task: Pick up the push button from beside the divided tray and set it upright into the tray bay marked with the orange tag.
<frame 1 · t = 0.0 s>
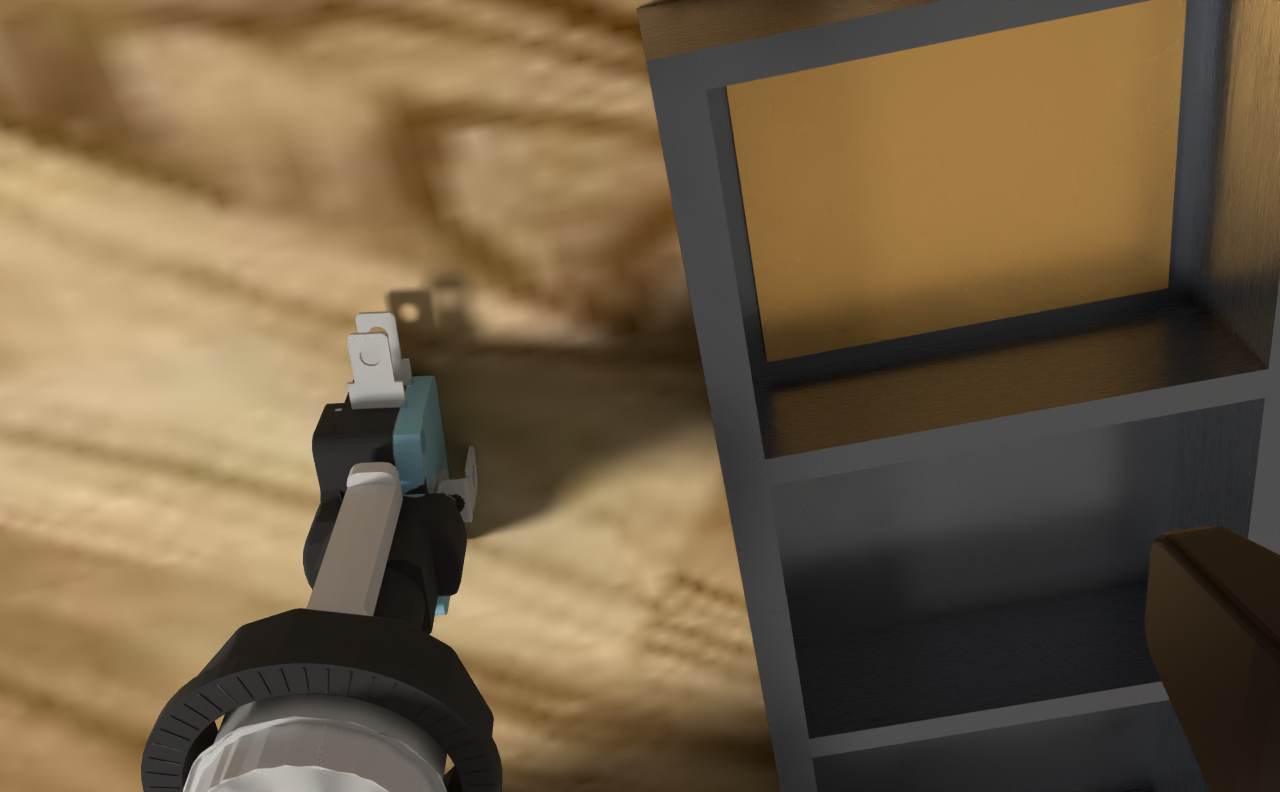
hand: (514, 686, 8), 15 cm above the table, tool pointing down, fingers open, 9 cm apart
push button: (407, 432, 24), on the table
divided tray: (956, 470, 25), on the table
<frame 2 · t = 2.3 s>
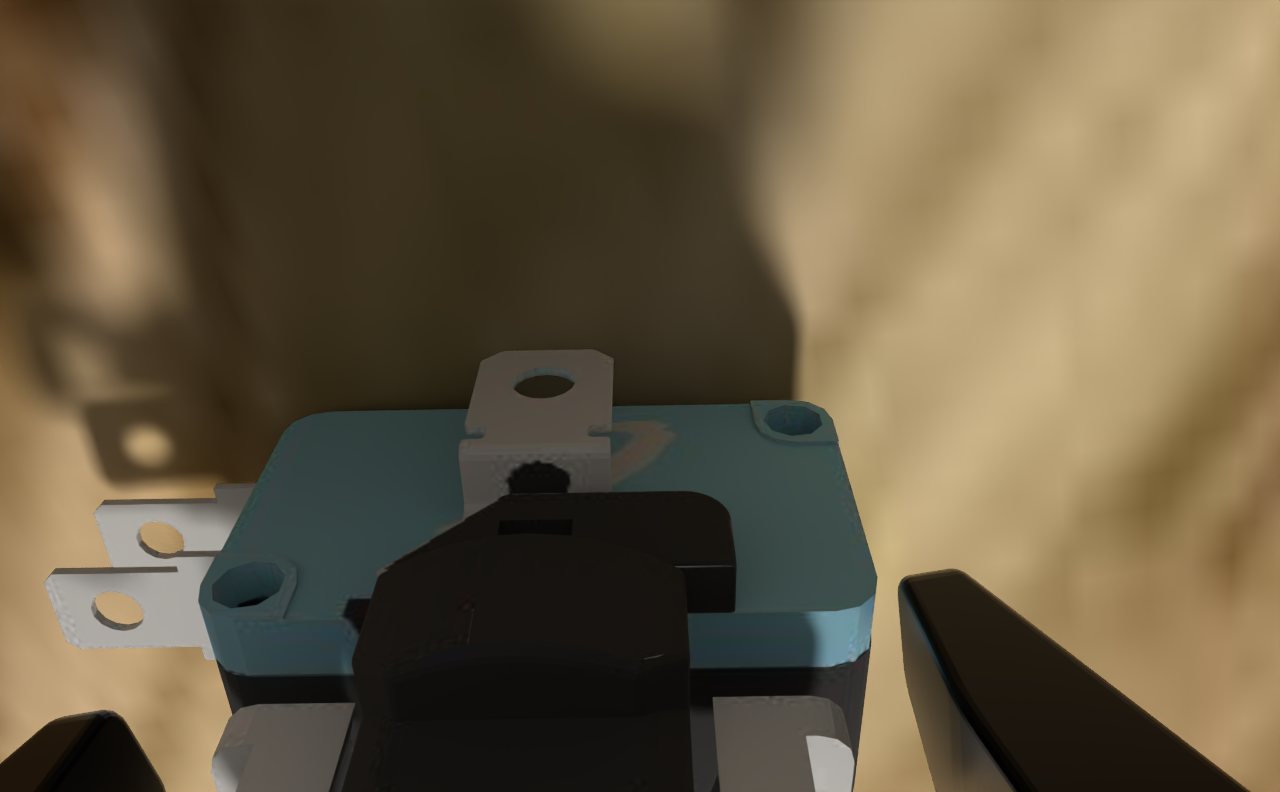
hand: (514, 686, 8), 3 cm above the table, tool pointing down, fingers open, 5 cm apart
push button: (494, 473, 10), on the table, touching gripper
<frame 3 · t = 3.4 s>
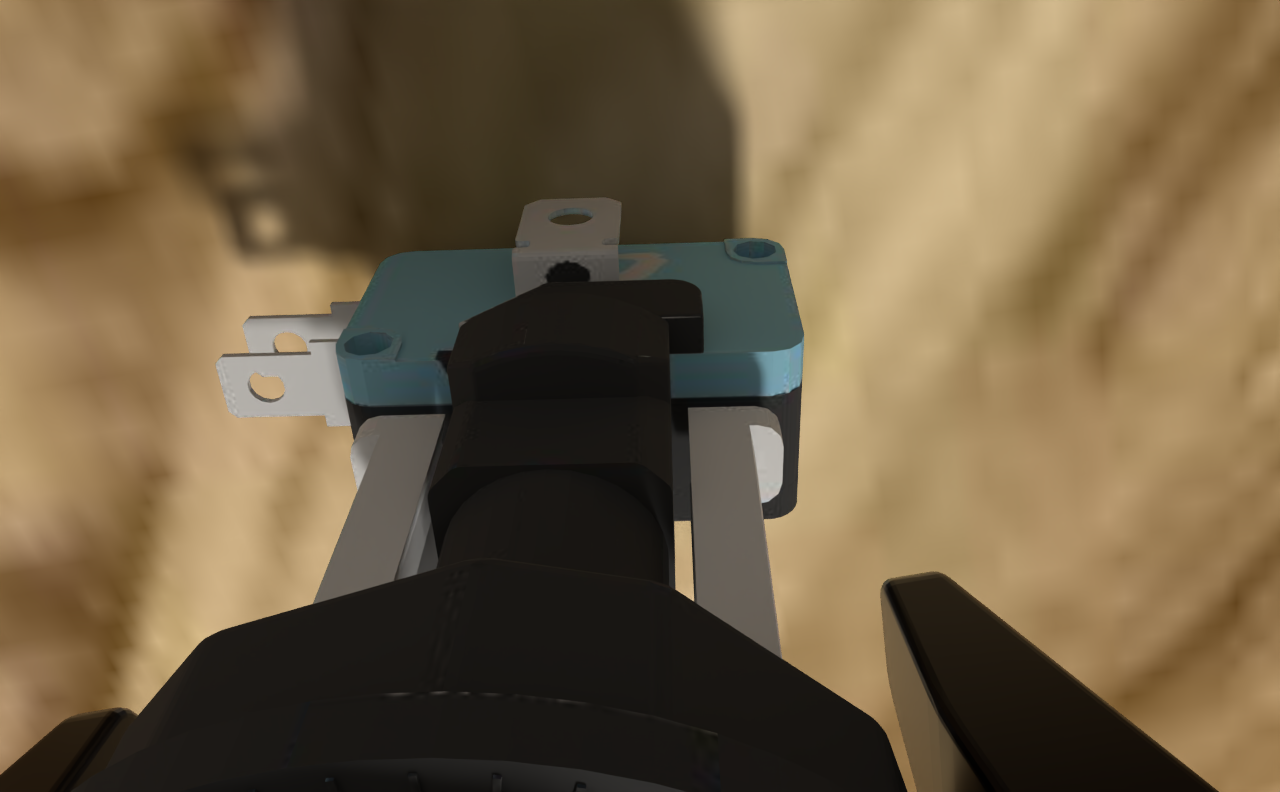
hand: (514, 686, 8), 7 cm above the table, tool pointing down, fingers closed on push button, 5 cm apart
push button: (534, 303, 13), on the table, touching gripper
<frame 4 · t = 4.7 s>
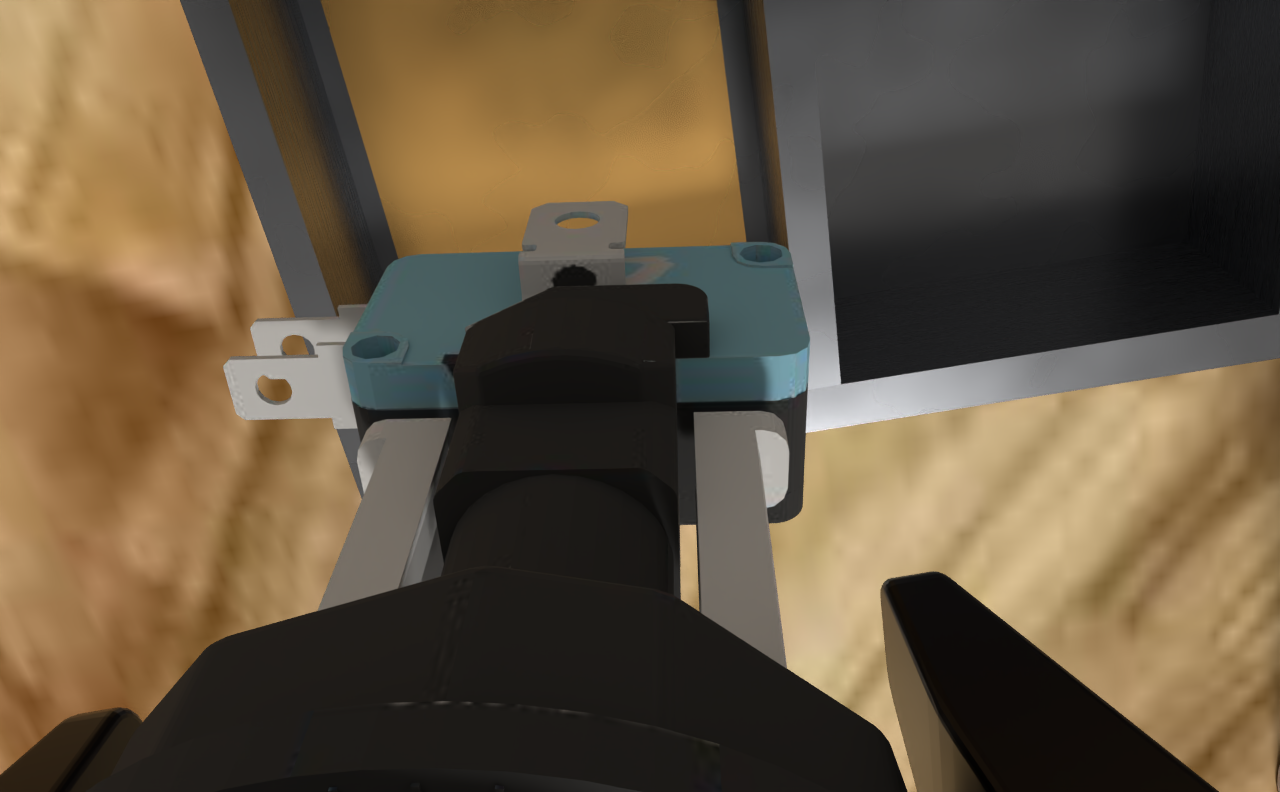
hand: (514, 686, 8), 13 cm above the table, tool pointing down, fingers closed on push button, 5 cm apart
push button: (540, 306, 13), point 7 cm above the table, touching gripper
divided tray: (977, 4, 18), on the table
when the fingers open (7 cm above the table, at t = 5.9 s): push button stays where it is, resting on divided tray.
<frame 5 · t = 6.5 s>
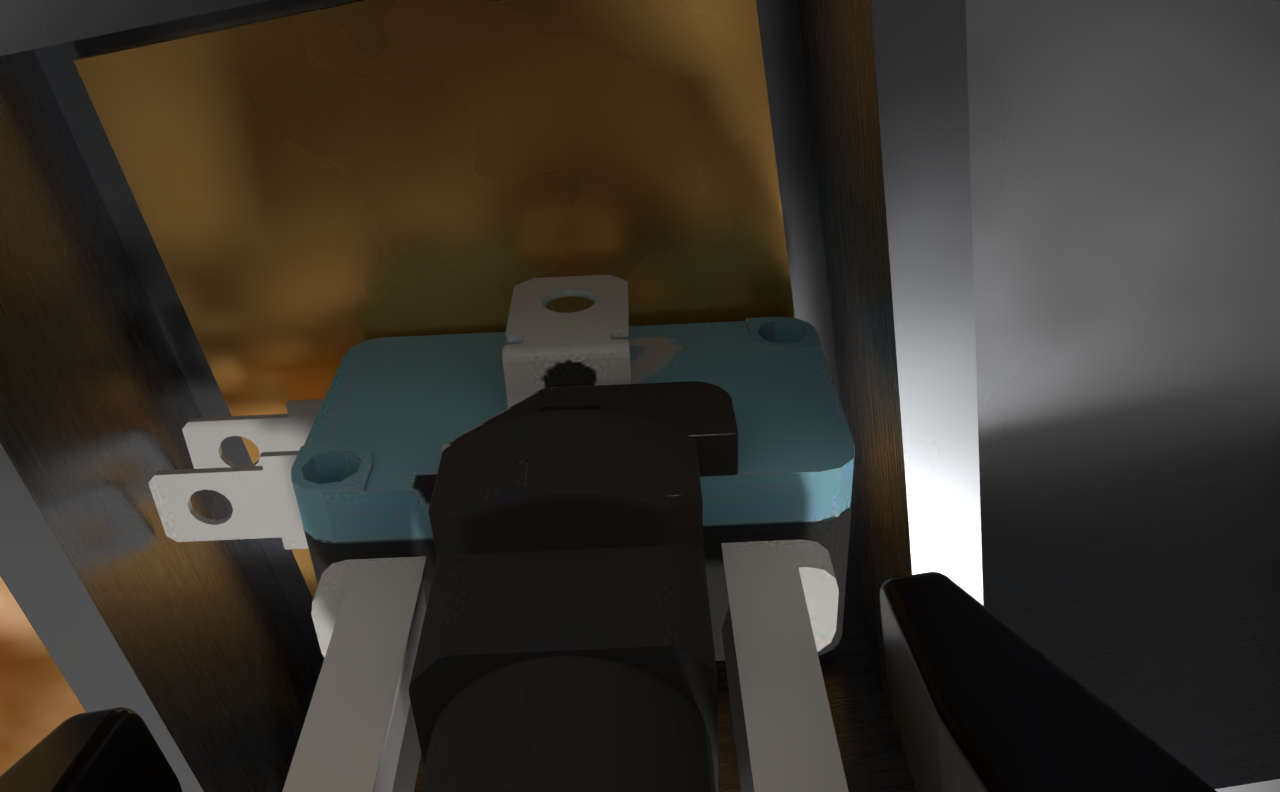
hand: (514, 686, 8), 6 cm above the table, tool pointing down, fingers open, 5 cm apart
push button: (524, 391, 12), point 1 cm above the table, touching gripper, divided tray
divided tray: (1169, 211, 12), on the table
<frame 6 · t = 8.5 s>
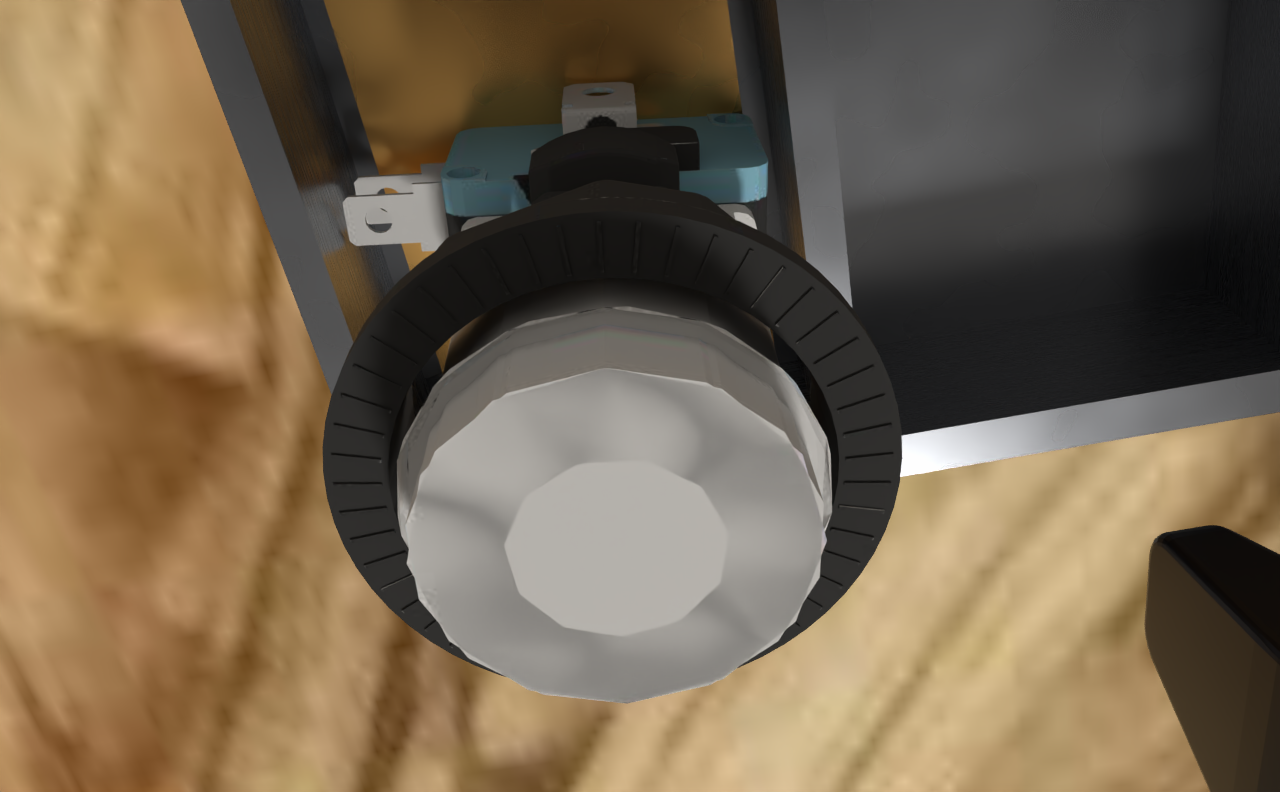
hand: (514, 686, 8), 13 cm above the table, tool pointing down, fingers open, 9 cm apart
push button: (566, 169, 18), point 1 cm above the table, touching divided tray
divided tray: (992, 61, 18), on the table
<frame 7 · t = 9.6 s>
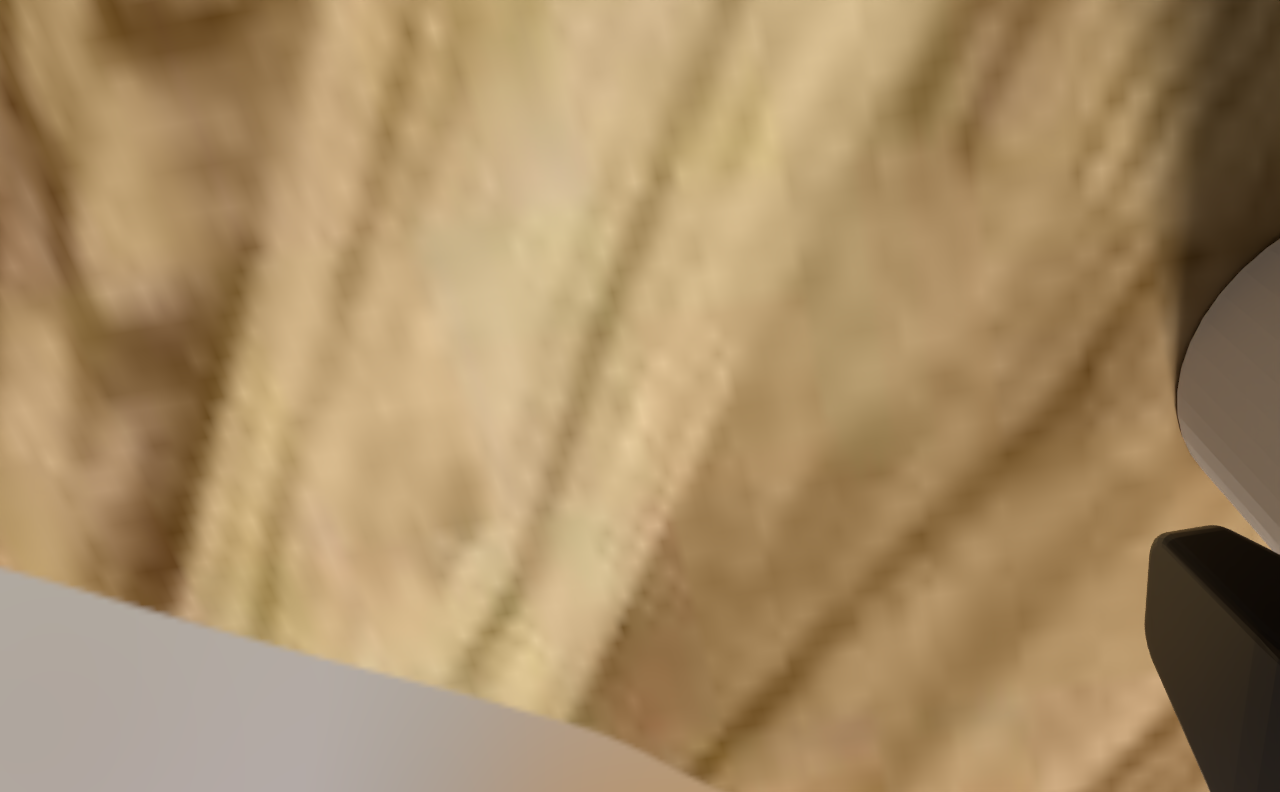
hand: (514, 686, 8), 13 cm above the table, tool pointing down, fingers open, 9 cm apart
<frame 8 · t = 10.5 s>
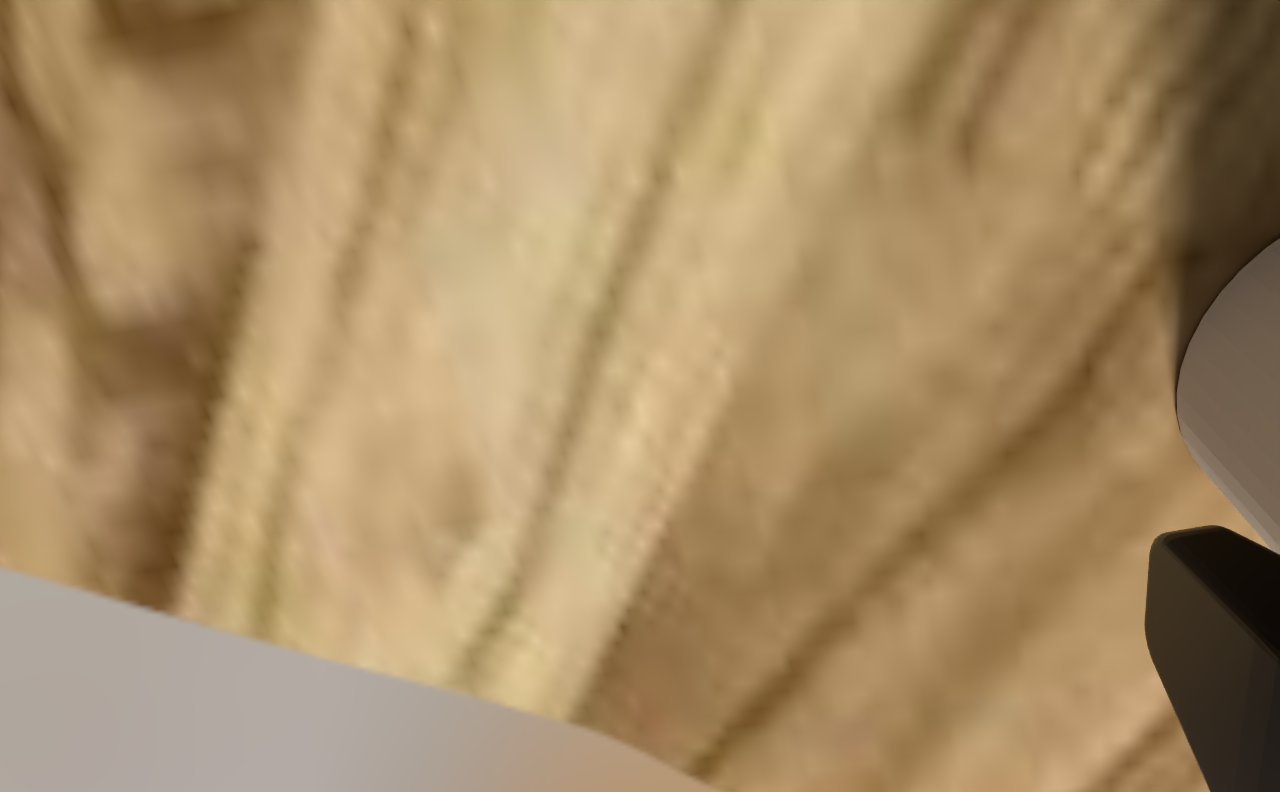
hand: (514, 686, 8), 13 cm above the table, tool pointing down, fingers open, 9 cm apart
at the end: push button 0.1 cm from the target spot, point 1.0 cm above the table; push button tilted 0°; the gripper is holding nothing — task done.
